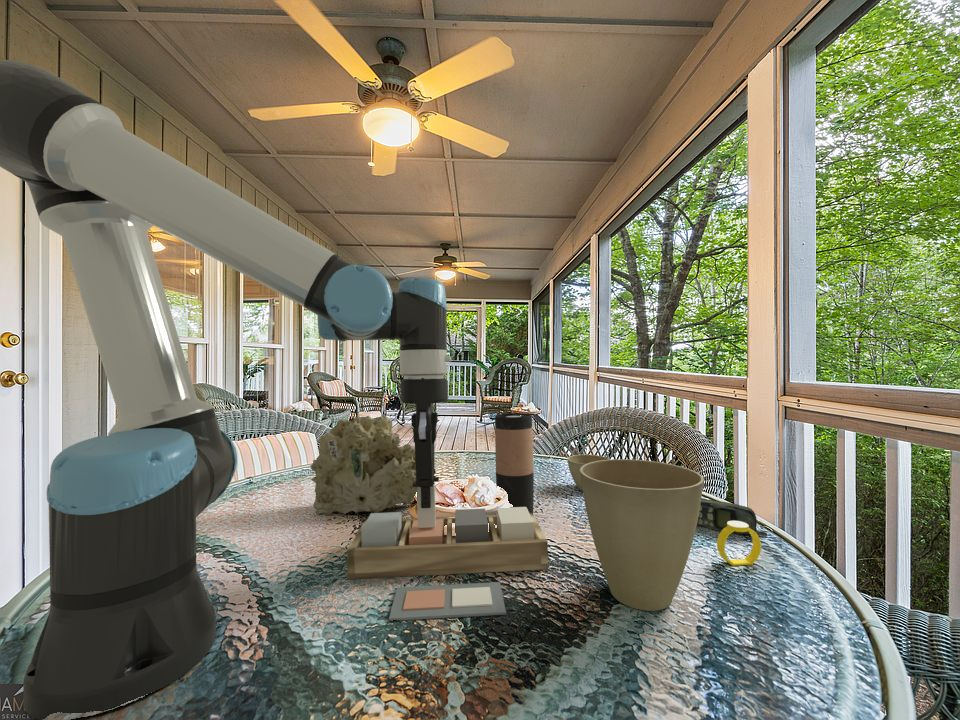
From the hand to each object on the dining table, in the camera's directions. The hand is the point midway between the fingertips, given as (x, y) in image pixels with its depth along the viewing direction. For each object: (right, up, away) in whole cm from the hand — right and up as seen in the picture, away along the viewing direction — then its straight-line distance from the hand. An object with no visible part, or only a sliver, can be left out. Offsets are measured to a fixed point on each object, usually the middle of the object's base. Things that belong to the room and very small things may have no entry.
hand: (426, 525), depth 66 cm
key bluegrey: (-7, -2, 0) cm, 7 cm away
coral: (-15, -6, +22) cm, 27 cm away
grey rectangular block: (+7, -2, 0) cm, 7 cm away
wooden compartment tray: (+4, -5, 0) cm, 6 cm away
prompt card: (+4, -5, -13) cm, 14 cm away
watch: (+47, -4, -4) cm, 47 cm away
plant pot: (+29, -4, -12) cm, 32 cm away
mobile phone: (+51, -4, +9) cm, 52 cm away
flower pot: (+35, -5, +34) cm, 49 cm away
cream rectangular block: (+14, -2, +1) cm, 14 cm away
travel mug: (+16, -5, +18) cm, 24 cm away
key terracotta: (0, -3, 0) cm, 3 cm away
